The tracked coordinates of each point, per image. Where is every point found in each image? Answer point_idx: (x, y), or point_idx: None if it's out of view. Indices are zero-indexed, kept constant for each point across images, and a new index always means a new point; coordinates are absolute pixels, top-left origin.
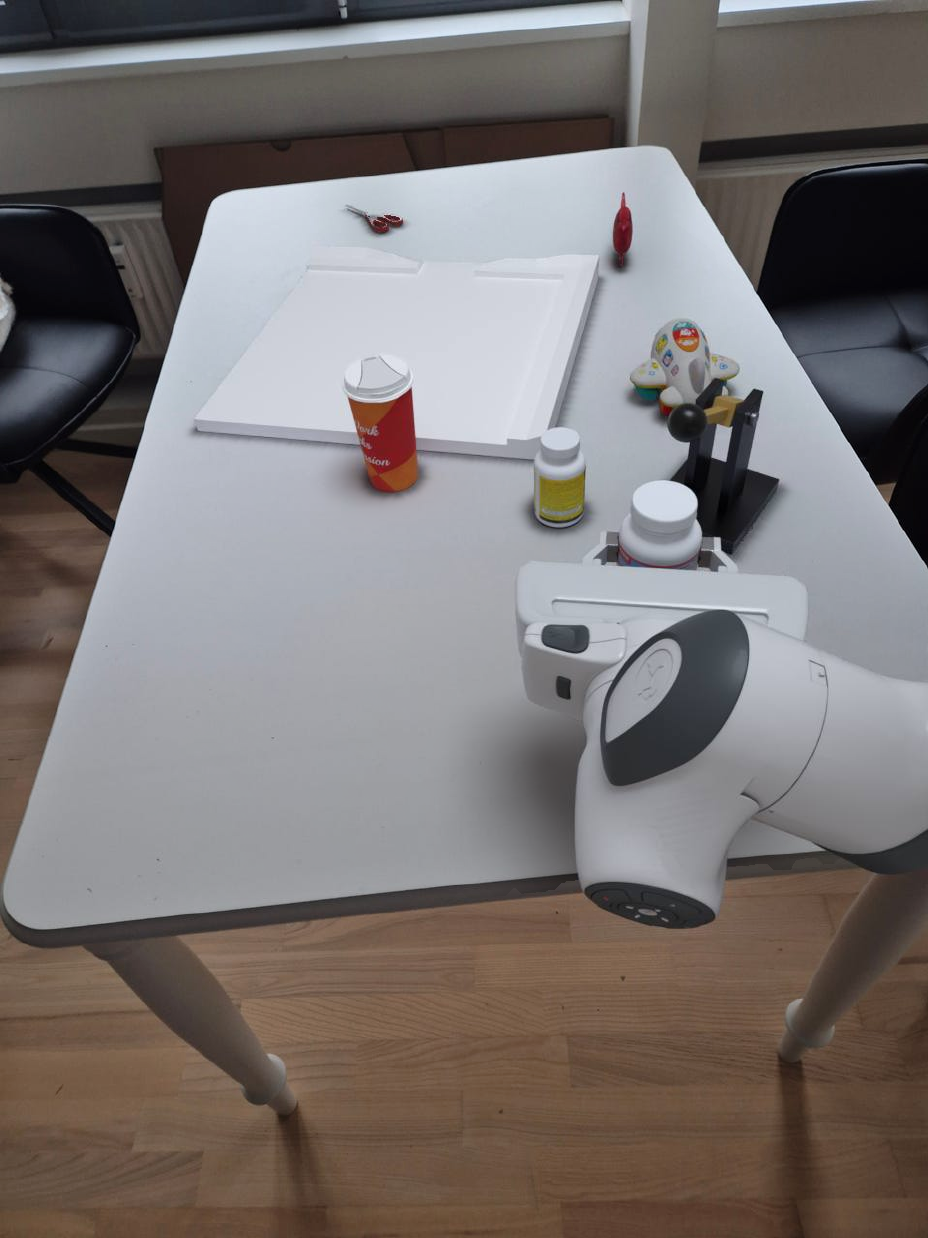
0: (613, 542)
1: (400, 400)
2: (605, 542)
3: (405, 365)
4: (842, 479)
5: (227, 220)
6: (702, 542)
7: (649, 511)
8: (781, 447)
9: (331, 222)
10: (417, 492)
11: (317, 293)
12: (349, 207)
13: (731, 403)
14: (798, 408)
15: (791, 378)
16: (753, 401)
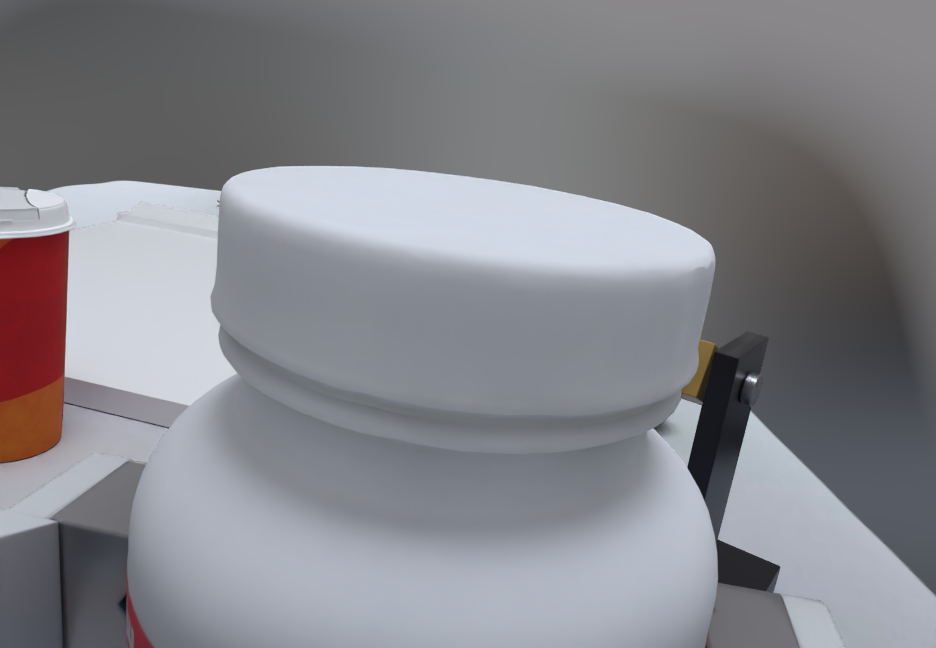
0: (114, 515)
1: (13, 252)
2: (58, 505)
3: (59, 202)
4: (901, 593)
5: (73, 188)
6: (713, 612)
7: (314, 202)
8: (765, 518)
9: (191, 209)
10: (27, 471)
11: (108, 236)
12: (219, 202)
13: (702, 344)
14: (780, 467)
15: (758, 428)
16: (752, 346)
